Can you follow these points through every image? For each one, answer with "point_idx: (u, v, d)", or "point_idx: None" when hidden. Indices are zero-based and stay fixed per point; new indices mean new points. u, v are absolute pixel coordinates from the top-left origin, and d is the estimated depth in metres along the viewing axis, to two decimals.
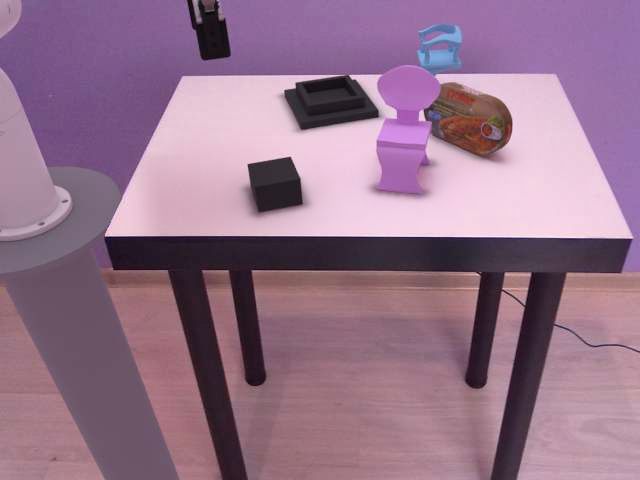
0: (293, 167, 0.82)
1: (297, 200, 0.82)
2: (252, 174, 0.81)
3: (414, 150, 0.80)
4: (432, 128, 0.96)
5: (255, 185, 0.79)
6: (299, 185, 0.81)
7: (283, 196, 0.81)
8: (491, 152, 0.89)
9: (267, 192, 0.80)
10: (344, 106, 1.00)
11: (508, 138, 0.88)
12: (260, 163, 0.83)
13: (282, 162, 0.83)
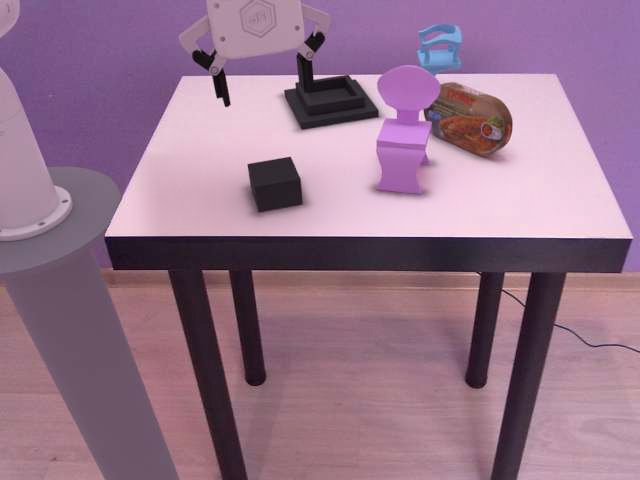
0: (293, 167, 0.82)
1: (297, 200, 0.82)
2: (252, 174, 0.81)
3: (414, 150, 0.80)
4: (432, 128, 0.96)
5: (255, 185, 0.79)
6: (299, 185, 0.81)
7: (283, 196, 0.81)
8: (491, 152, 0.89)
9: (267, 192, 0.80)
10: (344, 106, 1.00)
11: (508, 138, 0.88)
12: (260, 163, 0.83)
13: (282, 162, 0.83)
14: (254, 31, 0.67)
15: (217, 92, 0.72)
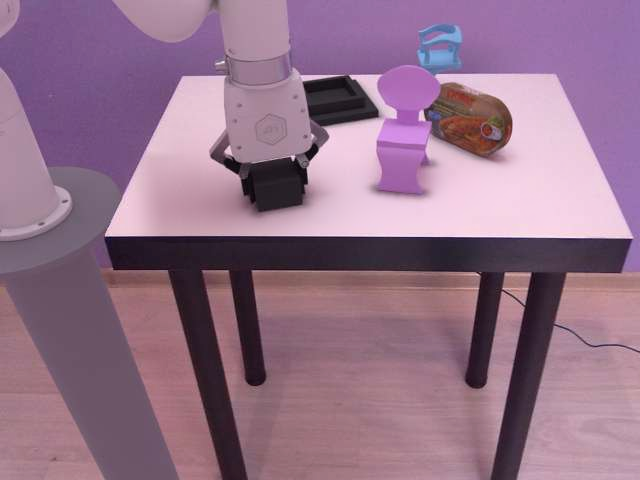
0: (293, 167, 0.82)
1: (297, 200, 0.82)
2: (252, 174, 0.81)
3: (414, 150, 0.80)
4: (432, 128, 0.96)
5: (255, 185, 0.79)
6: (299, 185, 0.81)
7: (283, 196, 0.81)
8: (491, 152, 0.89)
9: (267, 192, 0.80)
10: (344, 106, 1.00)
11: (508, 138, 0.88)
12: (260, 164, 0.83)
13: (282, 162, 0.83)
14: (267, 140, 0.76)
15: (244, 191, 0.82)
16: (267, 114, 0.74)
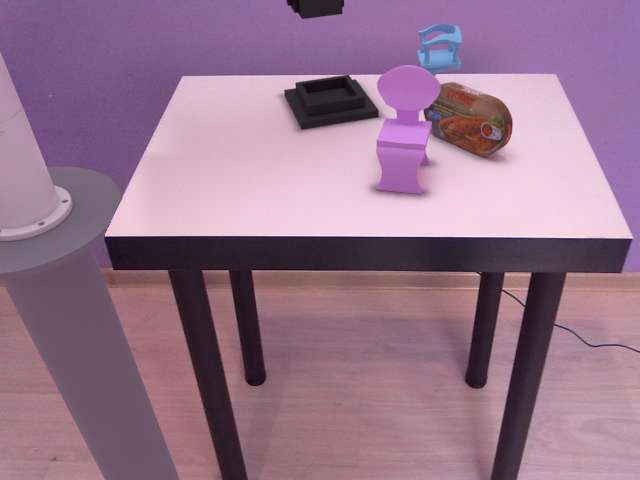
0: None
1: (337, 9, 0.89)
2: None
3: (414, 150, 0.80)
4: (432, 128, 0.96)
5: None
6: None
7: (325, 3, 0.88)
8: (491, 152, 0.89)
9: None
10: (344, 106, 1.00)
11: (508, 138, 0.88)
12: None
13: None
14: None
15: None
16: None
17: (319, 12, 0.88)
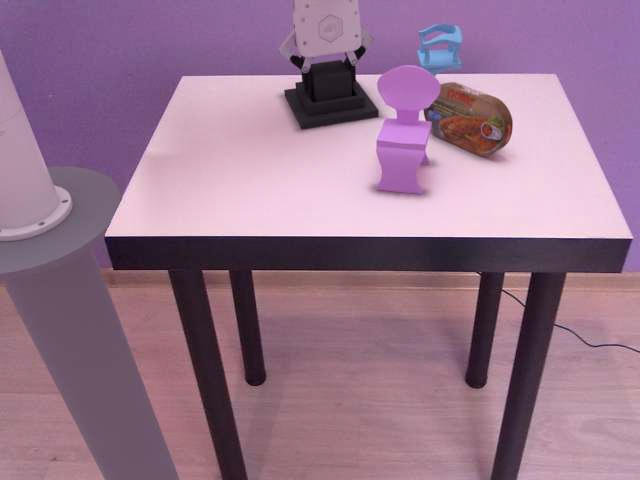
0: (344, 66, 1.01)
1: (347, 93, 1.01)
2: None
3: (414, 150, 0.80)
4: (432, 128, 0.96)
5: (315, 77, 0.98)
6: (350, 79, 1.00)
7: (337, 88, 1.00)
8: (491, 152, 0.89)
9: (324, 84, 0.99)
10: (344, 106, 1.00)
11: (508, 138, 0.88)
12: (317, 64, 1.02)
13: (334, 63, 1.02)
14: (327, 38, 0.95)
15: (305, 85, 1.01)
16: (328, 14, 0.93)
17: (331, 96, 1.01)
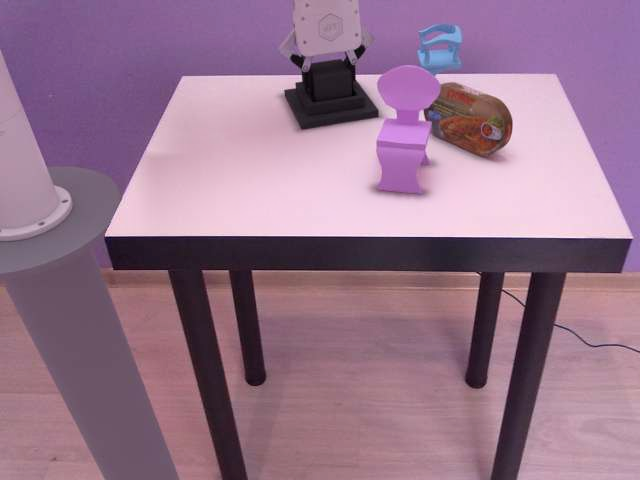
0: (344, 65, 1.01)
1: (347, 92, 1.01)
2: None
3: (414, 150, 0.80)
4: (432, 128, 0.96)
5: (315, 77, 0.98)
6: (350, 78, 1.00)
7: (337, 87, 1.00)
8: (491, 152, 0.89)
9: (324, 83, 0.99)
10: (344, 106, 1.00)
11: (508, 138, 0.88)
12: (317, 63, 1.02)
13: (334, 62, 1.02)
14: (327, 37, 0.95)
15: (305, 84, 1.00)
16: (328, 13, 0.93)
17: (331, 95, 1.01)
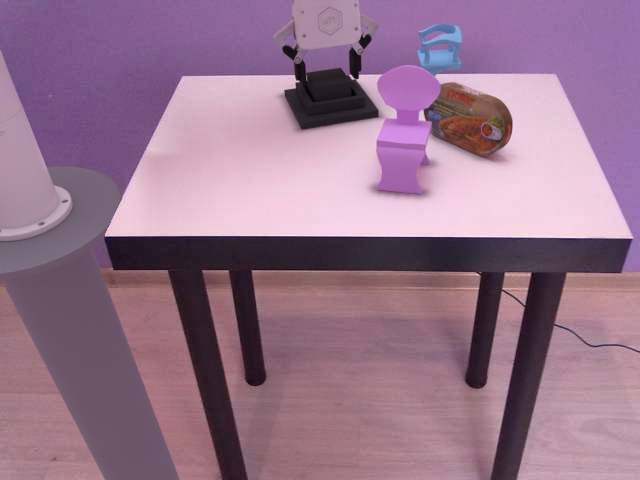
0: (344, 74, 1.02)
1: None
2: (311, 79, 1.01)
3: (414, 150, 0.80)
4: (432, 128, 0.96)
5: (315, 86, 0.99)
6: (349, 87, 1.01)
7: (336, 96, 1.01)
8: (491, 152, 0.89)
9: (324, 92, 1.00)
10: (344, 106, 1.00)
11: (508, 138, 0.88)
12: (317, 72, 1.03)
13: (334, 71, 1.03)
14: (326, 30, 0.94)
15: (297, 76, 0.99)
16: (327, 7, 0.92)
17: None
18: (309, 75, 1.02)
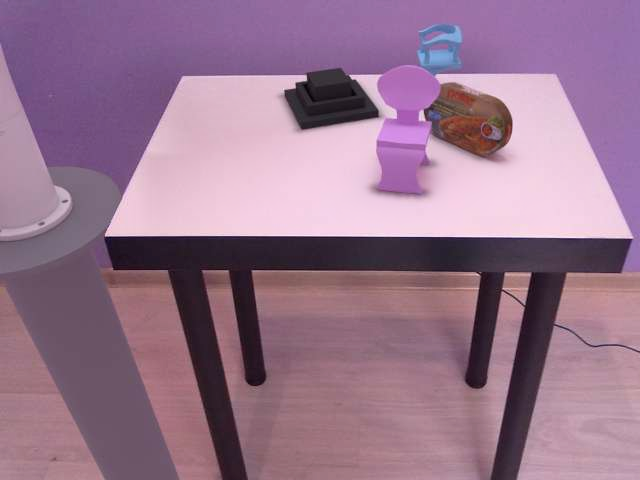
0: (344, 74, 1.02)
1: None
2: (311, 79, 1.01)
3: (414, 150, 0.80)
4: (432, 128, 0.96)
5: (315, 86, 0.99)
6: (349, 87, 1.01)
7: (336, 96, 1.01)
8: (491, 152, 0.89)
9: (324, 92, 1.00)
10: (344, 106, 1.00)
11: (508, 138, 0.88)
12: (317, 72, 1.03)
13: (334, 71, 1.03)
14: None
15: None
16: None
17: None
18: (309, 75, 1.02)
